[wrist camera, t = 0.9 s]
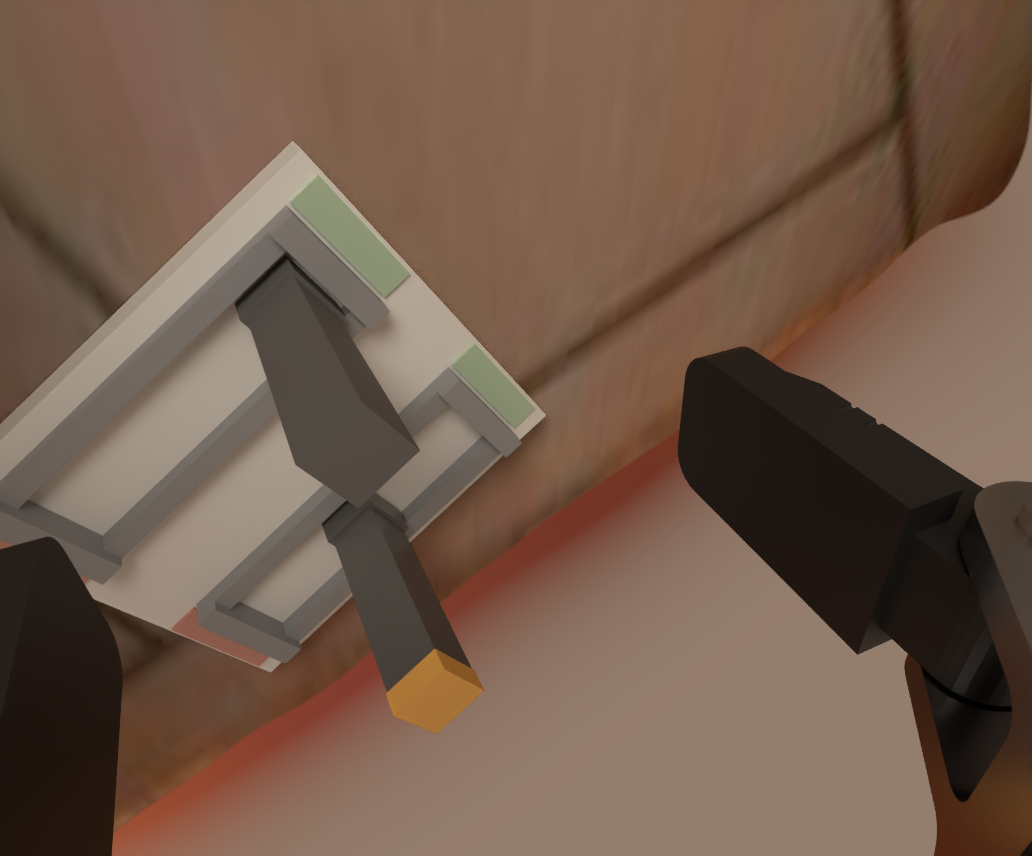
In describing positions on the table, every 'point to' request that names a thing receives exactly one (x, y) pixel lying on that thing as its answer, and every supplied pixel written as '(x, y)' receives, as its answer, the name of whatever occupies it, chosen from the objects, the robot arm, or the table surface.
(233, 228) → the panel
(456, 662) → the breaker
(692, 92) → the table surface
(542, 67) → the table surface
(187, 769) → the table surface
